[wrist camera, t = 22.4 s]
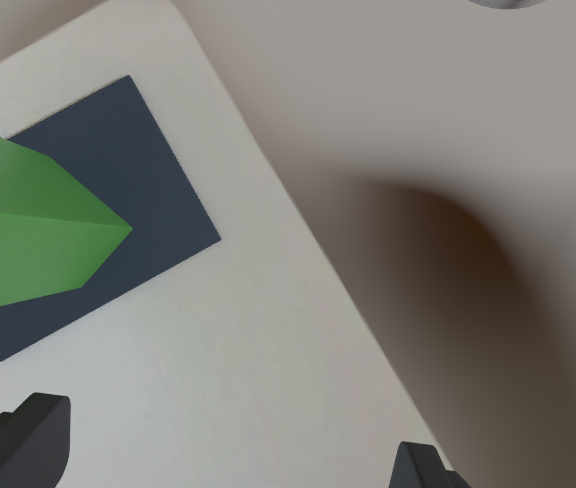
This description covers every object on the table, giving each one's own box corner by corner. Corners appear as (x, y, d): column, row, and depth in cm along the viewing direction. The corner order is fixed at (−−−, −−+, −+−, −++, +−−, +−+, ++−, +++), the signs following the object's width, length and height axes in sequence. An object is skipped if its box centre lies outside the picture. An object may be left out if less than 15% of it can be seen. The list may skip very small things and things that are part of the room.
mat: (130, 76, 28) (128, 74, 28) (221, 239, 28) (221, 239, 28) (-93, 196, 28) (-98, 195, 27) (1, 361, 28) (-3, 363, 27)
